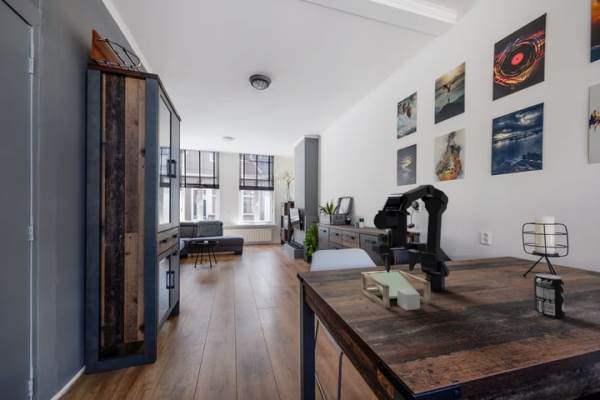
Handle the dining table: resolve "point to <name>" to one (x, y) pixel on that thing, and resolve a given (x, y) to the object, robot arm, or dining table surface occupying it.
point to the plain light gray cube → (408, 299)
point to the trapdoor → (392, 282)
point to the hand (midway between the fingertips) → (399, 271)
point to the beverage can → (549, 295)
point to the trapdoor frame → (386, 287)
